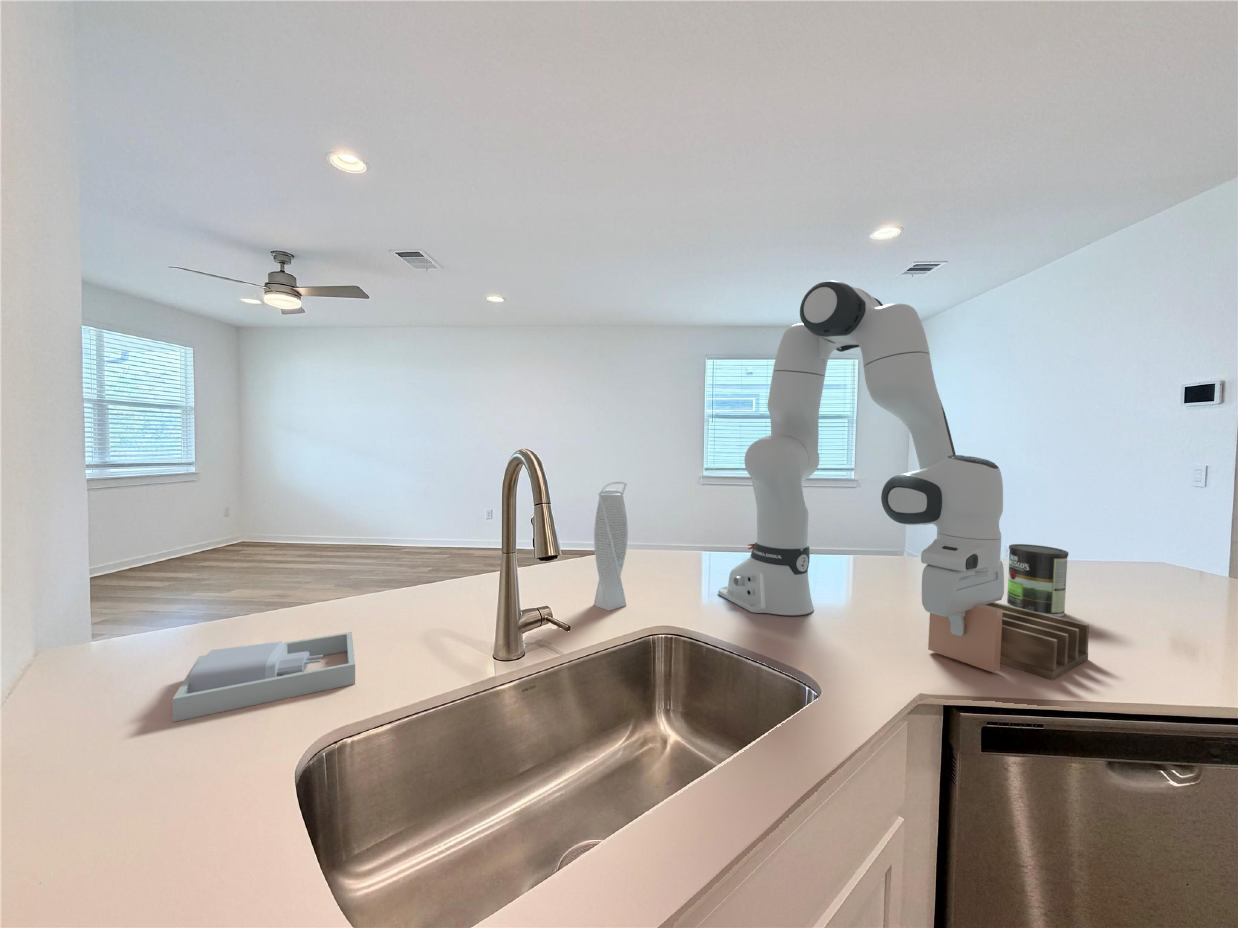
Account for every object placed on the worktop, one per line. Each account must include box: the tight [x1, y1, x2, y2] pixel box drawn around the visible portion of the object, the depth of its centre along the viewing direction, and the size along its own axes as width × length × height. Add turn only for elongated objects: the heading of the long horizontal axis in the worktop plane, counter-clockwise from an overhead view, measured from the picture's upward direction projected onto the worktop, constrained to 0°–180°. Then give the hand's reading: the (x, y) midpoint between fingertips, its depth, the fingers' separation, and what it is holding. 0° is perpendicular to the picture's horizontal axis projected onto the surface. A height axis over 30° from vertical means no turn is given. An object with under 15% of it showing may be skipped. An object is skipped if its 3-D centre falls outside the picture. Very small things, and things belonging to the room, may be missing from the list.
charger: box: [189, 641, 324, 693], centre depth 73 cm, size 5×9×15 cm
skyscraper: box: [593, 481, 629, 611], centre depth 110 cm, size 8×8×28 cm
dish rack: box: [986, 601, 1090, 681], centre depth 87 cm, size 16×15×6 cm
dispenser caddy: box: [171, 631, 356, 723], centre depth 74 cm, size 15×21×3 cm
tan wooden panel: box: [927, 604, 1003, 674], centre depth 83 cm, size 10×2×10 cm, turn 30°
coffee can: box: [1006, 543, 1069, 618], centre depth 111 cm, size 10×10×14 cm
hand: (963, 632), depth 83 cm, fingers closed on tan wooden panel, 2 cm apart
